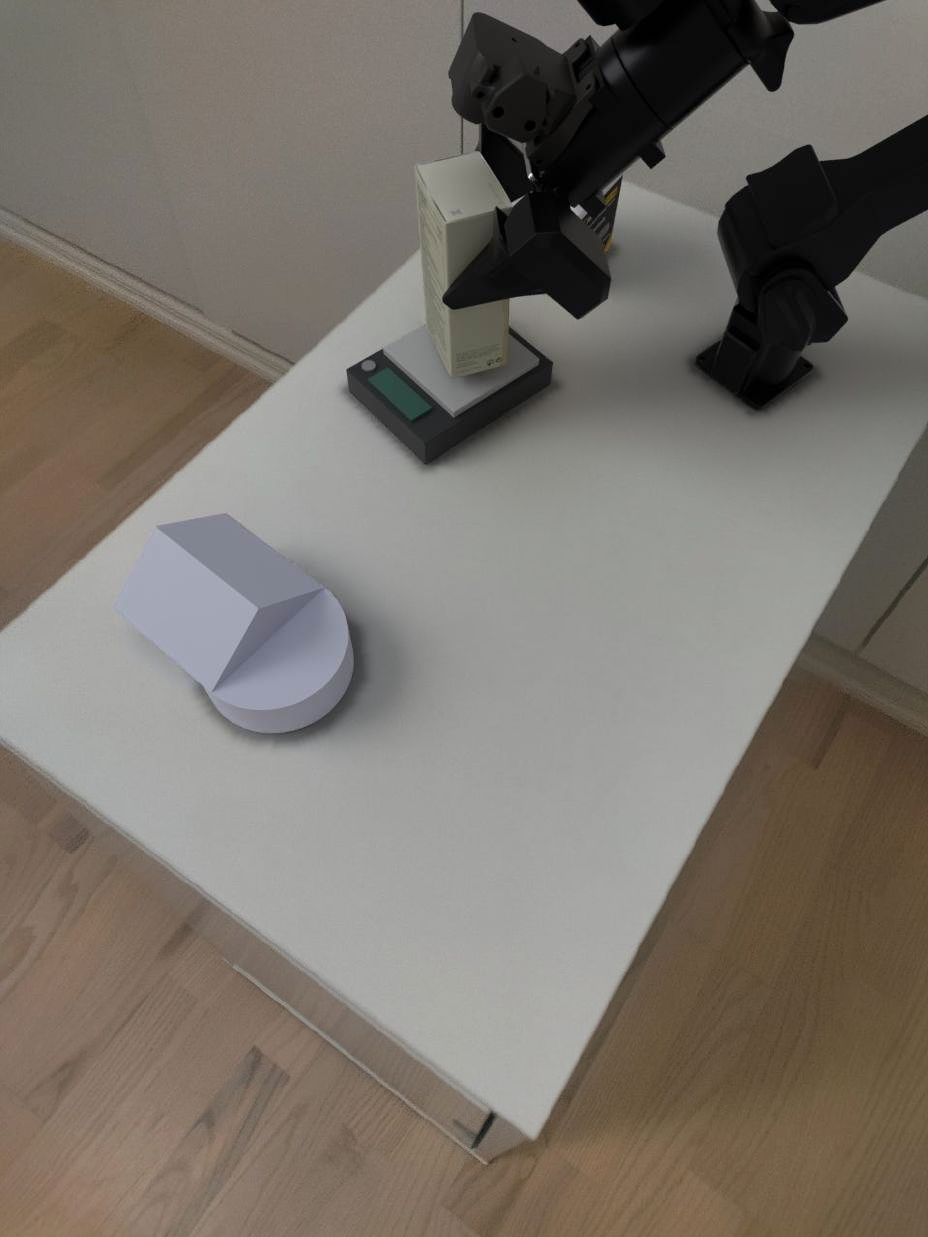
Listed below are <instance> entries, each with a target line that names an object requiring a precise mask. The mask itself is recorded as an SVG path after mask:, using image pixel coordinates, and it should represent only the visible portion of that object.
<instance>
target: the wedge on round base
mask: <svg viewBox="0 0 928 1237" xmlns="http://www.w3.org/2000/svg"><path fill="white" fill-rule="evenodd" d="M112 609H113V611H115V612H116V613H117V614H118V615H120V616H121V617H122V618H123V619H125V621H127V622H128V623H129V624H130V625H132V627H134V628H135V629H136V630H137V631H138V632H140V633H141V634H142V635H143V636H144V637H145V638H146V639H148V640H149V641H150V642H151V643H152V644H153V645H155V646H156V647H157V648H158V649H159V650H161V651H162V652H163V653H164V655H166V656H168V657H169V659H171V660H172V661H173V662H174V663H176V664H177V665H178V666H179V667H180V668H181V669H183V670H184V671H185V672H186V673H187V674H188V675H189V676H191V677H192V678H193V679H194V680H196V681H197V682H198V683H199V684H200V685H201V686H202V687H203V688H204V690H205V692H206V694H207V696H208V697H209V699H210V701H211V702H212V704H213V706H214V707H215V708H216V709H217V711H218V712H219V713H220V714H221V715H222V716H223V717H224V718H225V719H227V720H228V721H230V722H231V723H233V724H235V725H236V726H238V727H240V728H242V729H246V730H247V731H251V732H255V733H260V734H283V733H289V732H293V731H297V730H300V729H303V728H306V727H308V726H310V725H313V724H314V723H316V722H318V721H319V720H321V719H322V718H324V717H325V716H326V715H327V714H329V713H330V712H331V711H332V710H333V709H334V708H335V707H336V706H337V705H338V703H339V702H340V701H341V700H342V698H343V697H344V696H345V694H346V692H347V690H348V688H349V686H350V683H351V681H352V678H353V673H354V667H355V666H354V665H355V655H354V648H353V644H352V638H351V634H350V629H349V625H348V620H347V617H346V614H345V612H344V609H343V606H342V605H341V603H340V602H339V601H338V599H337V598H336V597H335V595H333V594H332V592H331V591H330V590H329V589H328V588H326V587H325V586H324V585H322V584H321V583H320V582H318V581H317V580H316V579H314V578H313V576H310V575H309V574H308V573H307V572H305V571H304V570H302V569H301V568H300V567H299V566H298V565H296V564H295V563H293V562H292V561H291V560H290V559H288V558H287V557H285V556H284V555H283V554H282V553H280V552H279V551H278V550H277V549H275V548H273V547H272V546H271V545H269V544H268V543H267V542H265V541H264V540H263V539H262V538H261V537H259V536H258V535H256V534H255V533H254V532H252V531H251V530H250V529H249V528H247V527H246V526H244V525H243V524H242V523H241V522H239V521H238V520H237V519H235V518H234V517H233V516H232V515H230V514H229V513H228V512H224V513H218V514H213V515H208V516H207V515H206V516H203V517H197V518H193V519H186V520H182V521H176V522H170V523H164V524H158V525H154V527H153V529H152V531H151V533H150V535H149V537H148V538H147V541H146V542H145V544H144V546H143V548H142V550H141V552H140V554H139V556H138V558H137V560H136V562H135V563H134V565H133V568H132V569H131V571H130V573H129V574H128V577H127V578H126V580H125V582H124V584H123V587H122V588H121V590H120V592H119V593H118V595H117V599H115V602H114V604H113V605H112Z"/></svg>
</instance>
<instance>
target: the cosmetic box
mask: <svg viewBox="0 0 928 1237" xmlns="http://www.w3.org/2000/svg"><path fill="white" fill-rule="evenodd" d="M474 151H475V150H474ZM474 151H469V152H465V153H460V154H457V155H456V154H455V155H451V156H447V157H442V158H441V157H440V158H437V159H433V160H428V161H423V162H419V163H415V164H414V166H413V168H414V169H413V170H414V183H415V195H416V207H417V208H416V209H417V221H418V222H417V223H418V234H419V247H420V248H419V249H420V261H421V262H420V263H421V275H422V284H423V285H422V286H423V287H422V288H423V300H424V311H425V312H424V314H425V324H426V325H427V327H428V330H429V332H430V334H431V337H432V339H433V341H434V343H435V345H436V348H437V350H438V352H439V354H440V356H441V359H442V361H443V363H444V365H445V367H446V369H447V371H448V373H449V375H450V377H451V378H453V379H454V378H457V377H461V376H465V375H469V374H474V373H477V372H481V371H485V370H489V369H492V368H496V367H499V366H503V365H506V364H507V363H508V336H509V327H510V299H504V300H500V301H495V302H490V303H486V304H481V305H476V306H471V307H467V308H462V309H457V310H452V309H450V308H449V307H448V306H446V305H445V304H444V303H443V302H442V296H443V295H444V293H445V292H446V291H447V289H448V288H449V287H450V286H451V284H452V283H453V282H454V281H455V279H456V278H457V277H458V276H459V275H460V274H461V273H462V272H463V271H464V270H465V268H466V267H467V266H468V265H469V264H470V263H471V262H472V261H473V260H474V259H475V257H476V256H477V255H478V254H479V253H480V252H481V251H482V250H483V249H484V248H485V246H486V245H487V244H488V243H489V242H490V241H491V239H492V237H493V223H494V209H495V207H496V206H497V207H498V208H499V209H501V210H502V211H503V212H504V213H505V214H506V215H507V216H509V214H510V212H511V210H512V204H511V202H510V200H509V198H508V196H507V195H506V193H505V191H504V189H503V188H502V186H501V184H500V183H499V181H498V180H497V178H496V177H495V175H494V173H493V172H492V170H491V169H490V167H489V165H488V164H487V162H486V161H485V159H484V158H483V156H482V155H481V153H480V152H479V151H475V152H474Z"/></svg>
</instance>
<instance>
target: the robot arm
mask: <svg viewBox="0 0 928 1237" xmlns="http://www.w3.org/2000/svg"><path fill="white" fill-rule="evenodd" d="M768 1H769V3H770V4H771V5H772V6H773V7H774V9H775V10H776V11H767V10H762V9H761V7H760V6H759V4H758V3H757V1H756V0H576V2H577V3H578V4H579V5H580V7H582V9H583V10H584V12H585V13H586V14H587V15H588V16H589V17H590V19H591V20H592V21H593V23H594V24H596V26H601V27H610V26H614V25H615V26H616V27H617V28H618V29H616V31H614V32H613V34H611V35H610V36H609V38H607V39H606V40H605V41H604V42H603V43H602V44H601V45H599V43H598V42H597V41H596V40H595V39H594V37H593V36H592V35H591V34H589V35H588V36H587V37H586V38H585V39H584V38H583V37H580V38H578V39H577V40H576V41H575V42H574V43H573V44H572V45H571V46H569V48H568V49H566V50H565V51H564V52H562V53H560V52H559V51H557V50H556V49H553V48H552V47H549V46H548V45H547V44H546V43H544V42H543V41H541V39H539V38H537V37H535V36H533V35H531V34H529V33H527V32H525V31H522V30H521V29H518V28H517V27H514V26H512V25H511V24H508V23H506V22H504V21H502V20H500V19H497V18H496V17H494V16H491V15H489V14H487V13H484V12H480V11H476V12H473V13H472V14H471V17H470V19H469V22H468V24H467V27H466V29H465V30H464V33H463V36H462V38H461V41H460V43H459V45H458V47H457V50H456V52H455V55H454V57H453V58H452V62H451V64H450V66H449V69H448V71H447V77H448V79H449V80H450V84H451V92H452V94H451V99H450V100H451V105H452V108H453V110H454V112H455V113H456V114H457V115H458V116H460V117H461V118H462V119H464V120H465V121H466V122H469V123H471V124H473V125H478V142H477V145H476V146H475V149H474V151H473V152H475V151H479V152H480V153H481V155H482V156H483V158H484V159H485V161H486V162H487V164H488V165H489V167H490V169H491V170H492V172H493V173H494V175H495V177H496V178H497V180H498V181H499V183H500V184H501V186H502V188H503V189H504V191H505V193H506V195H507V196H508V198H509V200H510V202H511V203H512V202H514V201H516V200H517V199H518V198H521V197H523V196H524V197H523V198H522V199H520V200H519V201H518V202H517V203H516V204H515V205H514V206H513V208H512V210H511V212H510V214H509V216H507V215H506V214H505V213H504V212H503V211H502V210H501V209H499V208H498V207H497V206H496V207H495V209H494V223H493V237H492V239H491V241H490V242H489V243H488V244H487V245H486V246H485V248H484V249H483V250H482V251H481V252H480V253H479V254H478V255H477V256H476V257H475V259H474V260H473V261H472V262H471V263H470V264H469V265H468V266H467V267H466V268H465V270H464V271H463V272H462V273H461V274H460V275H459V276H458V277H457V278H456V279H455V281H454V282H453V283H452V284H451V286H450V287H449V288H448V289H447V291H446V292H445V293H444V295H443V296H442V302H443V303H444V304H445V305H446V306H448V307H449V308H450V309H452V310H457V309H462V308H467V307H471V306H476V305H481V304H486V303H490V302H495V301H500V300H504V299H509V300H510V299H514V298H515V299H516V298H520V297H521V298H522V297H529V296H539V295H547V296H548V297H550V299H552V300H553V301H555V303H557V304H558V305H559V306H560V307H561V308H562V309H564V310H565V311H566V312H567V313H569V315H571V316H572V317H573V318H574V319H576V321H578V320H579V321H580V320H581V319H584V318H585V317H586V316H588V314H590V313H591V312H593V311H594V310H595V309H596V308H598V307H599V306H601V305H602V303H604V302H605V301H607V300H608V299H609V294H610V289H611V285H612V275H611V270H610V267H609V263H608V259H607V255H606V253H605V250H604V246H603V242H602V239H601V238H600V237H599V236H598V235H597V234H596V233H595V232H594V231H593V230H592V229H591V228H590V227H589V226H588V225H587V224H586V223H585V222H584V221H583V220H582V219H580V218H579V217H578V216H577V215H576V214H575V213H574V212H573V211H572V210H571V207H573V208H575V207H577V206H578V205H580V206H581V207H582V208H583V209H584V210H585V211H586V212H587V213H588V214H589V215H590V216H591V217H592V218H594V217H595V216H596V215H598V214H599V213H600V212H601V211H602V210H604V209H605V208H606V203H605V199H604V195H603V191H602V190H603V189H605V188H606V187H607V186H608V185H609V184H610V183H612V182H613V181H614V180H615V179H616V178H617V177H619V176H620V175H621V174H622V173H623V174H624V173H625V172H626V171H627V170H628V169H630V167H632V166H633V165H634V164H635V163H637V162H638V161H639V160H642V161H643V162H644V164H645V165H646V166H647V167H648V168H649V169H650V170H652V169H654V168H655V167H656V166H657V165H658V164H660V163H661V162H662V161H663V160H664V159H665V158H667V154H666V152H665V149H664V146H663V143H662V140H663V139H664V138H665V137H666V136H668V135H669V134H671V132H672V131H674V130H675V129H676V128H678V126H680V125H681V124H682V123H683V122H684V121H685V120H686V119H688V118H689V117H690V116H692V114H694V112H696V111H697V110H698V109H699V108H701V107H702V106H703V105H704V104H705V103H706V102H707V101H708V100H710V99H711V98H712V97H713V96H714V95H715V94H717V93H718V92H719V91H721V89H723V88H724V87H725V86H726V85H728V83H729V82H731V81H732V80H733V79H734V78H736V77H737V76H738V75H739V74H740V73H741V72H742V71H744V70H745V69H746V68H747V67H748V66H750V67H751V68H752V70H753V72H754V73H755V75H756V76H757V78H758V79H759V80H760V82H761V83H762V85H763V86H764V88H765V89H766V90H767V91H768V92H769V93H774V92H777V91H778V90H780V88H781V86H782V83H783V78H784V72H785V66H786V59H787V55H788V51H789V49H790V46H791V44H792V42H793V40H794V38H795V31H794V29H793V26H792V25H791V24H795V25H799V26H800V25H801V26H802V25H804V26H805V25H819V24H823V23H828V22H830V21H833V20H836V19H838V18H841V17H843V16H847V15H850V14H852V13H855V12H858V11H860V10H864V9H866V8H869V7H871V6H874V5H877V4H880V3H883V2H886V1H887V0H768ZM745 181H746V185H744V186H743V187H742V188H740V189H739V190H738V191H737V192H734V194H733V195H732V196H731V197H730V198H729V199H728V200H727V201H726V202H725V204H724V209H723V211H722V213H721V215H720V218H719V219H718V222H717V231H716V236H717V239H718V242H719V245H720V248H721V252H722V254H723V257H724V261H725V263H726V267H727V269H728V273H729V275H730V279H731V281H732V284H733V287H734V290H735V293H736V299H735V302H734V305H733V308H732V310H731V312H730V315H729V318H728V321H727V323H726V327H725V330H724V332H723V334H722V337H721V339H719V340H718V341H716V342H715V343H714V344H712V345H711V346H709V347H708V348H706V349H704V350H703V351H702V352H700V353H699V354H697V356H696V357H695V361H694V363H695V365H696V366H697V367H698V368H699V369H700V370H702V371H703V372H705V373H706V374H707V375H708V376H710V377H711V378H713V379H714V380H715V381H717V382H718V383H719V384H721V385H722V386H723V387H724V388H726V389H727V390H729V391H730V392H731V393H732V394H734V395H735V396H736V397H738V398H739V399H740V400H742V401H743V402H744V403H746V404H747V405H749V406H750V407H751V408H753V409H755V410H757V411H759V410H760V411H761V410H763V409H764V408H766V407H767V406H768V405H770V404H772V403H773V402H774V401H775V400H776V399H779V397H781V396H782V395H783V394H785V393H786V392H788V391H789V390H790V389H792V388H793V387H794V386H796V385H797V384H798V383H800V382H802V381H803V380H804V379H805V378H807V377H808V376H810V375H811V374H812V373H813V370H814V368H815V367H814V365H813V363H812V362H810V361H809V360H808V359H806V358H805V357H804V356H802V354H803V352H804V350H805V349H806V348H807V346H811V345H812V344H822V343H823V344H825V343H828V342H830V341H831V340H832V339H833V338H834V337H835V336H836V334H837V333H838V332H840V330H841V329H842V328H843V327H844V326H845V325H846V324H847V323H848V321H849V316H848V313H847V311H846V310H845V307H844V305H843V303H842V300H841V297H840V295H839V293H838V290H837V288H836V287H837V286H838V285H840V284H842V283H843V282H844V281H846V280H847V279H848V278H849V277H850V276H851V275H852V273H853V272H854V271H855V269H856V268H857V267H858V266H859V265H860V263H861V262H862V261H863V260H864V258H865V257H866V255H868V253H869V252H870V250H871V249H872V248H873V247H874V246H875V244H876V243H877V242H878V241H879V239H880V238H881V237H882V236H883V235H884V234H886V233H888V232H889V231H891V230H892V229H894V228H896V227H898V226H900V225H903V224H904V223H906V222H908V221H910V220H911V219H914V218H915V217H917V216H919V215H921V214H923V213H925V212H927V211H928V114H926V115H924V116H922V117H921V118H919V119H917V120H915V121H914V122H912V123H910V124H909V125H906V126H905V127H904V128H901V129H900V130H898V131H897V132H894V133H892V134H891V135H889V136H887V137H886V138H884V139H883V140H880V141H879V142H877V143H876V144H874V145H872V146H869V147H868V148H867V149H865V150H863V151H861V152H860V153H858V154H856V155H853V156H850V157H846V158H837V159H826V160H819V158H818V155H817V154H816V151H815V148H814V147H813V145H812V144H810V143H808V144H805V145H802V146H799V147H796V148H794V149H793V150H792V151H791V152H789V153H788V154H787V155H786V156H784V157H783V158H782V159H780V160H779V161H777V162H776V163H775V164H773V165H771V166H769V167H767V168H765V169H763V170H761V171H757V172H753V173H749V174H747V175H746V176H745ZM570 206H571V207H570Z"/></svg>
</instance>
